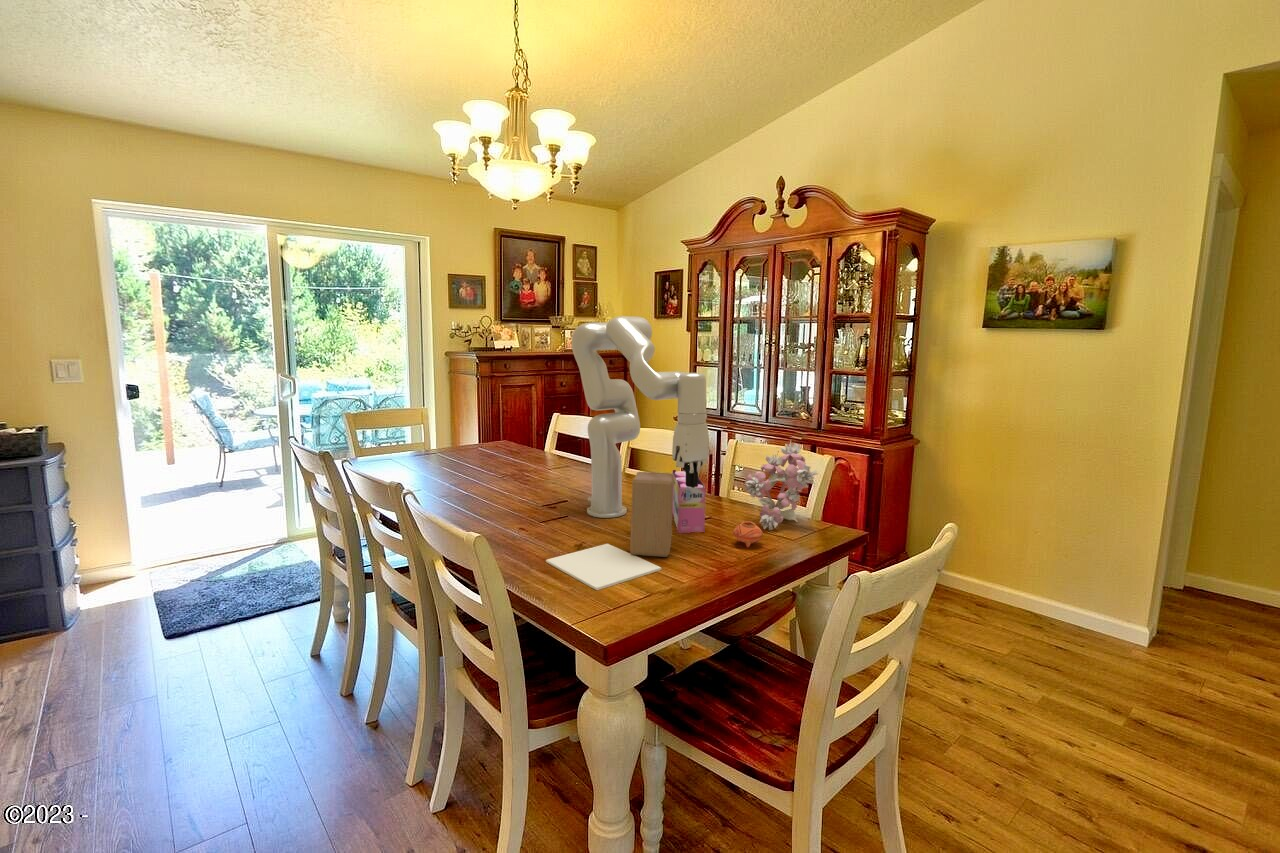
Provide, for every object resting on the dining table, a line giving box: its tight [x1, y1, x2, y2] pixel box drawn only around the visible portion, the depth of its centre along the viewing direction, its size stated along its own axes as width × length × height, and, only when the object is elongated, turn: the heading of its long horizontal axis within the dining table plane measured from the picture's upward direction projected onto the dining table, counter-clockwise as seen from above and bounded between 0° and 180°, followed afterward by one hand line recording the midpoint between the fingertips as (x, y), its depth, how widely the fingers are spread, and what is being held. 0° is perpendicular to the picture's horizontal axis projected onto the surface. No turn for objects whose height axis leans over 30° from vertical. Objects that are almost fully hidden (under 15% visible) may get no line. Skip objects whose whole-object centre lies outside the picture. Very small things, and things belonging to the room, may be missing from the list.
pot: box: [732, 520, 764, 549], centre depth 165 cm, size 8×8×7 cm
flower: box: [744, 439, 819, 531], centre depth 183 cm, size 20×22×25 cm
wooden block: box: [629, 471, 674, 558], centre depth 158 cm, size 10×10×20 cm
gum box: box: [671, 469, 706, 534], centre depth 186 cm, size 24×8×14 cm, turn 2°
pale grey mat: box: [545, 543, 662, 591], centre depth 150 cm, size 22×19×1 cm
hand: (691, 486), depth 166 cm, fingers closed
